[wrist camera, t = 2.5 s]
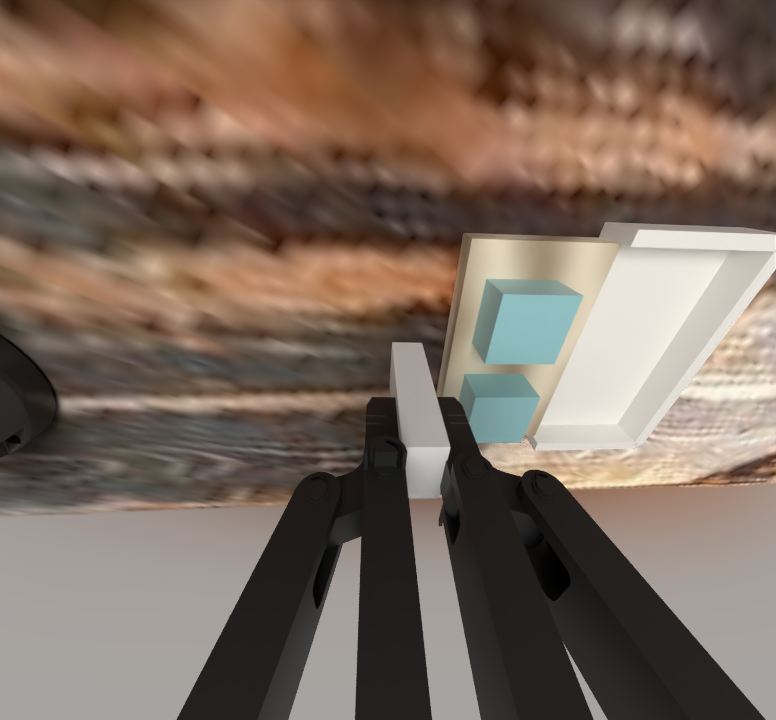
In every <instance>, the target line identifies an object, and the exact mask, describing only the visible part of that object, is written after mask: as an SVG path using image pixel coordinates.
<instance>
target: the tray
mask: <svg viewBox="0 0 776 720" xmlns="http://www.w3.org/2000/svg"><path fill="white" fill-rule="evenodd" d="M599 238H602V239H605V240H608V241H612V242H615V243H619V244H621V247H620V249H619V251H618V253H617V255H616V258H615V260H614V262H613V264H612V266H611V269H610V271H609V273H608V275H607V277H606V280H605V282H604V284H603V286H602V288H601V291H600V293H599V295H598V297H597V300H596V302H595V304H594V306H593V308H592V311H591V313H590V315H589V317H588V319H587V322H586V324H585V326H584V328H583V330H582V333H581V335H580V337H579V339H578V341H577V344H576V346H575V348H574V350H573V352H572V355H571V357H570V359H569V361H568V363H567V366H566V368H565V370H564V372H563V374H562V377H561V379H560V381H559V383H558V385H557V388H556V390H555V392H554V394H553V397H552V399H551V401H550V403H549V405H548V408H547V410H546V412H545V414H544V416H543V419H542V421H541V423H540V425H539V427H538V430H537V432H536V434H535V436H526V437H527V439H528V440H529V442H530V444H531V445H532V447H533V449H534V450H591V449H634V448H635V447H636V446H637V445H642V444H643V443H644V441H645V440H646V439H647V437H648V436H649V435H650V433H651V432H652V431H653V430H654V428H655V427H656V426H657V424H658V423H659V422H660V420H661V419H662V418H663V416H664V415H665V414H666V412H667V411H668V410H669V409H670V407H671V406H672V405H673V403H674V402H675V401H676V399H677V398H678V397H679V395H680V394H681V393H682V391H683V390H684V389H685V387H686V386H687V385H688V384H689V382H690V381H691V380H692V378H693V377H694V376H695V374H696V373H697V372H698V370H699V369H700V368H701V366H702V365H703V364H704V363H705V361H706V360H707V359H708V357H709V356H710V355H711V353H712V352H713V351H714V349H715V348H716V347H717V345H718V344H719V343H720V342H721V340H722V339H723V338H724V336H725V335H726V334H727V332H728V331H729V330H730V328H731V327H732V326H733V324H734V323H735V322H736V320H737V319H738V318H739V317H740V315H741V314H742V313H743V311H744V310H745V309H746V307H747V306H748V305H749V303H750V302H751V301H752V299H753V298H754V297H755V296H756V294H757V293H758V292H759V290H760V289H761V288H762V286H763V285H764V284H765V282H766V281H767V280H768V278H769V277H770V276H771V275H772V273H773V272H774V271H775V269H776V232H769V231H763V230H756V229H749V228H743V227H717V226H691V225H665V224H639V223H613V222H605V223H604V226H603V228H602V231H601V233H600V236H599Z"/></svg>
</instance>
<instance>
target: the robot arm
mask: <svg viewBox="0 0 776 720" xmlns="http://www.w3.org/2000/svg"><path fill="white" fill-rule="evenodd" d="M55 412H56V403H55V399H54V395H53V393H52V390H51V388H50V386H49V385H48V383H47V381H46V380H45V378H44V377H43V376H42V374H41V373H40V372H39V371H38V369H37V368H36V367H35V366H34V365H33V364H32V363H31V362H30V361H29V360H28V359H27V358H26V357H25V356H24V355H23V354H22V353H20V352H19V351H18V350H17V349H16V348H14V347H13V346H12V345H11V344H9V343H8V342H7V341H5V340H4V339H2V338H1V337H0V458H1V457H3V456H5V455H7V454H10V453H12V452H14V451H16V450H18V449H19V448H21V447H23V446H24V445H26V444H27V443H28V442H30V441H31V440H32V439H33V438H35V437H36V436H37V435H38V434H40V433H41V432H42V431H43V430H45V429H46V428H47V427H48V426H49V425H50V424H51V422H52V421H53V419H54V417H55ZM440 490H441V494H442V499H443V505H442V509H441V513H440V517H439V526H442V524H444V529H445V534H446V539H447V544H448V549H449V555H450V560H451V565H452V570H453V575H454V581H455V586H456V591H457V596H458V601H459V607H460V612H461V617H462V622H463V627H464V633H465V638H466V643H467V648H468V654H469V659H470V664H471V669H472V674H473V680H474V685H475V690H476V695H477V700H478V705H479V711H480V716H481V720H593V717H592V714H591V712H590V710H589V707H588V705H587V702H586V700H585V697H584V694H583V692H582V689H581V687H580V684H579V682H578V679H577V677H576V674H575V672H574V669H573V667H572V664H571V662H570V659H569V657H568V654H567V652H566V649H565V647H564V644H565V646H566V648H567V650H568V651H569V653H570V655H571V657H572V658H573V660H574V662H575V664H576V665H577V667H578V669H579V670H580V672H581V674H582V676H583V677H584V679H585V681H586V683H587V684H588V686H589V688H590V689H591V691H592V693H593V695H594V697H595V698H596V700H597V702H598V703H599V705H600V707H601V709H602V710H603V712H604V714H605V716H606V717H607V719H608V720H765V718H764V717H763V716H762V715H761V714H760V713H759V711H758V710H757V709H756V708H755V707H754V706H753V704H752V703H751V702H750V701H749V700H748V699H747V698H746V696H745V695H744V694H743V693H742V692H741V691H740V689H738V687H737V686H736V685H735V684H734V683H733V681H732V680H731V679H730V678H729V677H728V675H727V674H726V673H725V672H724V671H723V670H722V669H721V667H720V666H719V665H718V664H717V663H716V662H715V660H714V659H713V658H712V657H711V656H710V655H709V654H708V652H707V651H706V650H705V649H704V648H703V647H702V645H701V644H700V643H699V642H698V641H697V640H696V638H695V637H694V636H693V635H692V634H691V633H690V631H689V630H688V629H687V628H686V627H685V626H684V624H683V623H682V622H681V621H680V620H679V619H678V618H677V617H676V615H675V614H674V613H673V612H672V611H671V609H670V608H669V607H668V606H667V605H666V604H665V603H664V601H663V600H662V599H661V598H660V597H659V596H658V595H657V593H656V592H655V591H654V590H653V589H652V588H651V586H650V585H649V584H648V583H647V582H646V580H645V579H644V578H643V577H642V576H641V575H640V573H639V572H638V571H637V570H636V569H635V568H634V567H633V565H632V564H631V563H630V562H629V561H628V560H627V558H626V557H625V556H624V555H623V554H622V553H621V551H620V550H619V549H618V548H617V547H616V546H615V545H614V543H613V542H612V541H611V540H610V539H609V538H608V536H607V535H606V534H605V533H604V532H603V531H602V529H601V528H600V527H599V526H598V525H597V524H596V522H595V521H594V520H593V519H592V518H591V517H590V516H589V514H588V513H587V512H586V511H585V510H584V509H583V508H582V506H581V505H580V504H579V503H578V502H577V500H575V498H574V497H573V496H572V495H571V493H570V492H569V491H568V490H567V489H566V488H565V486H564V485H563V484H562V483H561V482H560V481H559V480H558V479H556V478H555V477H554V476H552V475H550V474H549V473H547V472H544V471H540V470H529V471H527V472H525V473H524V474H523V476H522V477H520V476H516V475H513V474H509V473H505V472H502V471H500V470H497V469H496V468H494V467H492V465H491V463H490V462H489V461H488V460H487V459H485V458H484V457H483V456H482V455H481V453H480V451H479V448H478V446H477V443H476V440H475V438H474V435H473V432H472V430H471V427H470V424H469V422H468V419H467V416H466V414H465V411H464V408H463V406H462V404H461V403H460V402H459V401H458V400H457V399H456V398H455V397H437V396H436V392H435V389H434V385H433V381H432V378H431V374H430V371H429V367H428V363H427V360H426V356H425V352H424V349H423V345H422V343H400V342H392V353H391V371H390V397H372V398H371V399H370V401H369V403H368V404H367V409H366V436H365V449H364V460H363V462H362V464H361V465H360V466H359V467H358V468H357V469H355V470H354V471H353V472H350V473H348V474H345V475H342V476H339V477H335V476H334V475H332V474H329V473H327V472H317V473H314V474H310V475H309V476H307V477H306V478H304V479H303V480H302V481H301V482H300V483H299V485H298V486H297V488H296V490H295V492H294V493H293V495H292V497H291V499H290V501H289V503H288V505H287V508H286V509H285V511H284V513H283V515H282V517H281V519H280V521H279V522H278V525H277V526H276V528H275V531H274V532H273V534H272V536H271V538H270V540H269V542H268V544H267V546H266V548H265V550H264V552H263V553H262V555H261V557H260V559H259V561H258V563H257V565H256V567H255V569H254V571H253V573H252V575H251V577H250V579H249V581H248V582H247V584H246V586H245V588H244V590H243V592H242V594H241V596H240V598H239V600H238V602H237V604H236V606H235V608H234V610H233V612H232V614H231V615H230V617H229V619H228V621H227V623H226V625H225V627H224V629H223V631H222V633H221V635H220V637H219V639H218V640H217V642H216V644H215V646H214V648H213V650H212V652H211V654H210V656H209V658H208V660H207V662H206V664H205V666H204V668H203V670H202V671H201V673H200V675H199V677H198V679H197V681H196V683H195V685H194V687H193V689H192V691H191V693H190V695H189V697H188V698H187V701H186V702H185V705H184V706H183V708H182V710H181V712H180V714H179V716H178V718H177V720H288V718H289V715H290V712H291V709H292V706H293V703H294V699H295V696H296V693H297V690H298V686H299V683H300V680H301V677H302V674H303V670H304V667H305V664H306V661H307V658H308V654H309V651H310V648H311V645H312V642H313V638H314V635H315V632H316V629H317V625H318V622H319V619H320V616H321V613H322V609H323V606H324V603H325V600H326V596H327V593H328V590H329V587H330V584H331V581H332V577H333V574H334V571H335V568H336V564H337V561H338V558H339V555H340V552H341V548H342V545H343V543H345V542H348V541H350V540H353V539H355V538H358V537H360V536H361V565H360V593H359V595H360V596H359V622H358V651H357V680H356V709H355V720H432V716H431V706H430V696H429V687H428V678H427V668H426V658H425V649H424V640H423V630H422V621H421V611H420V603H419V592H418V584H417V573H416V565H415V556H414V555H415V554H414V545H413V535H412V527H411V516H410V508H409V498H439V495H440ZM562 641H563V642H562ZM563 643H564V644H563Z"/></svg>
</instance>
